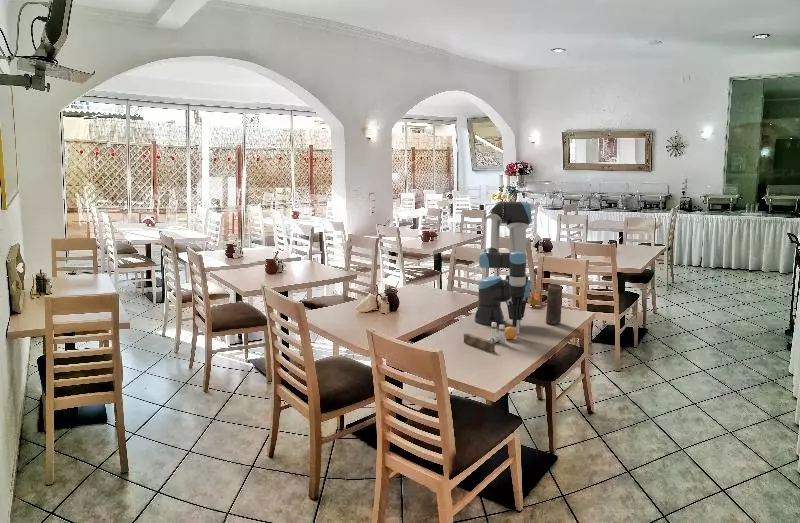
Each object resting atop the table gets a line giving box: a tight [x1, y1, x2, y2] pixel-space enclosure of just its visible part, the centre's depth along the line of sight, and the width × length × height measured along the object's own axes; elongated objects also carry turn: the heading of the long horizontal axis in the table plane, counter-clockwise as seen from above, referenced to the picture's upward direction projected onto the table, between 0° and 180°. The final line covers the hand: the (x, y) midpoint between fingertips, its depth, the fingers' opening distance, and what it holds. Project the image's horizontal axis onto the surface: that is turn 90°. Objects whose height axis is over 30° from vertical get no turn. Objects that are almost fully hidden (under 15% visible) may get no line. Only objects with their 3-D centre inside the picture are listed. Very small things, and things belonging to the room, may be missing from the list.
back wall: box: [463, 333, 496, 353], centre depth 269 cm, size 18×2×4 cm, turn 36°
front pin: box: [486, 336, 499, 344], centre depth 275 cm, size 2×2×8 cm
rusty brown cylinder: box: [545, 283, 563, 325], centre depth 303 cm, size 8×7×20 cm
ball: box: [505, 326, 517, 340], centre depth 279 cm, size 6×6×6 cm
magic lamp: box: [526, 291, 542, 308], centre depth 340 cm, size 7×18×11 cm, turn 143°
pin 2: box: [498, 324, 506, 345], centre depth 273 cm, size 2×2×8 cm
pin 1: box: [490, 322, 498, 338], centre depth 277 cm, size 2×2×8 cm
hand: (516, 333), depth 283 cm, fingers closed
